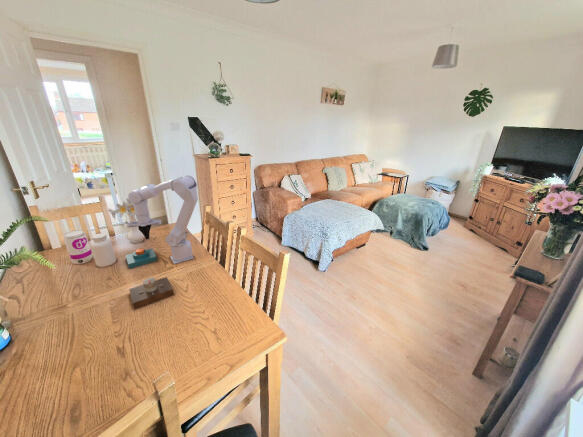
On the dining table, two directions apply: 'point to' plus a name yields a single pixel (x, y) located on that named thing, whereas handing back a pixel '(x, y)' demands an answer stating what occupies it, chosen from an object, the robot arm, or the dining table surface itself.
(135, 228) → the flower vase
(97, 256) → the pill bottle
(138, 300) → the lock panel
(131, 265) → the push button box
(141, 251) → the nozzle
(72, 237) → the supplement can
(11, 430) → the dining table surface
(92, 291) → the dining table surface
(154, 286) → the lock dial
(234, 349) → the dining table surface
